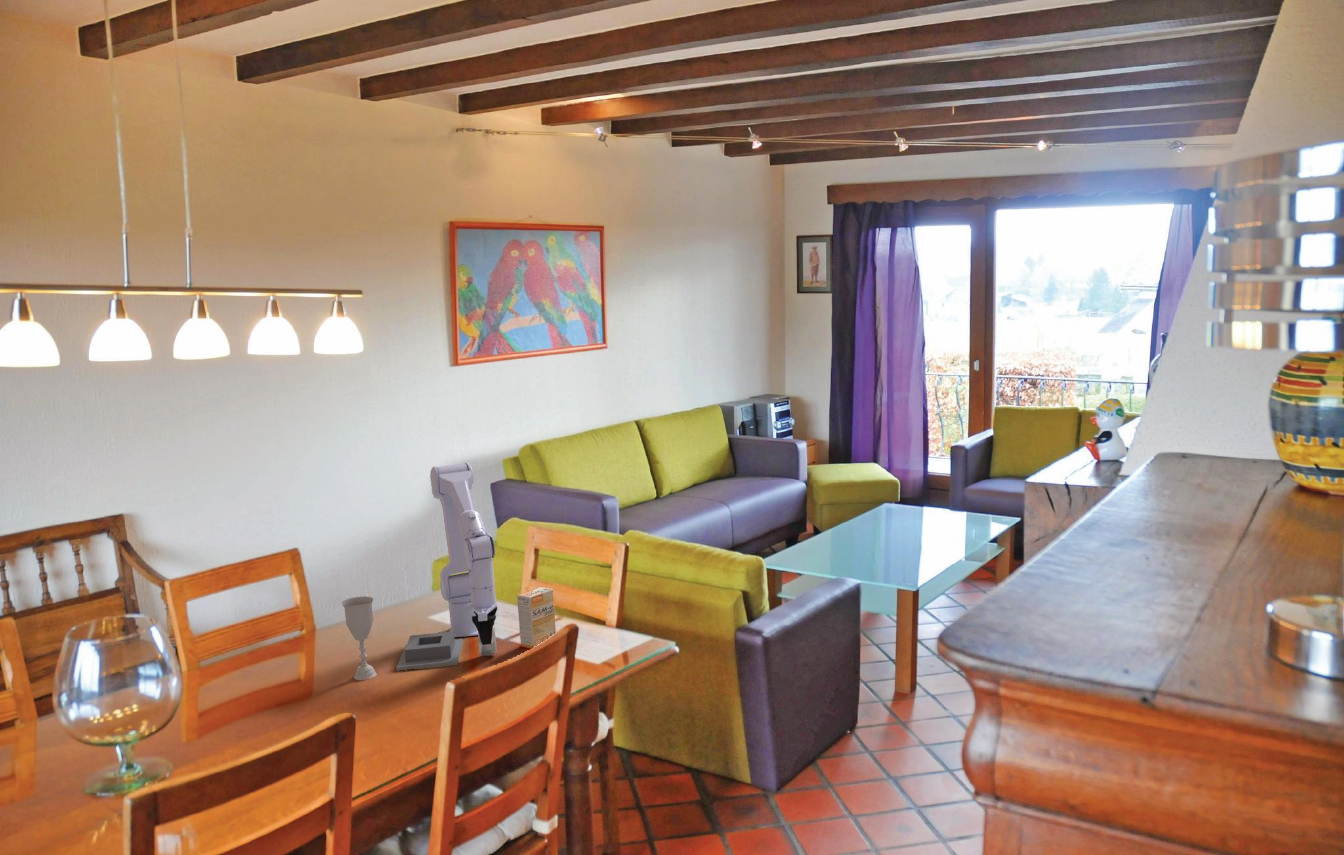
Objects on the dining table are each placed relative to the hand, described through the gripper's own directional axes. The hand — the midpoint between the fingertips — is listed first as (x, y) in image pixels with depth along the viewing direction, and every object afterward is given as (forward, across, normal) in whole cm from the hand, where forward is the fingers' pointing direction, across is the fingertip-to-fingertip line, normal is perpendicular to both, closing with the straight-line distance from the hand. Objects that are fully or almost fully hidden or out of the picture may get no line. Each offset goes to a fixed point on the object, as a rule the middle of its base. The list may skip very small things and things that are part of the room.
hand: (487, 640), depth 242 cm
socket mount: (+4, -4, -14) cm, 15 cm away
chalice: (+4, +5, -28) cm, 29 cm away
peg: (+3, 0, 0) cm, 3 cm away
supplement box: (+4, -6, +12) cm, 14 cm away
